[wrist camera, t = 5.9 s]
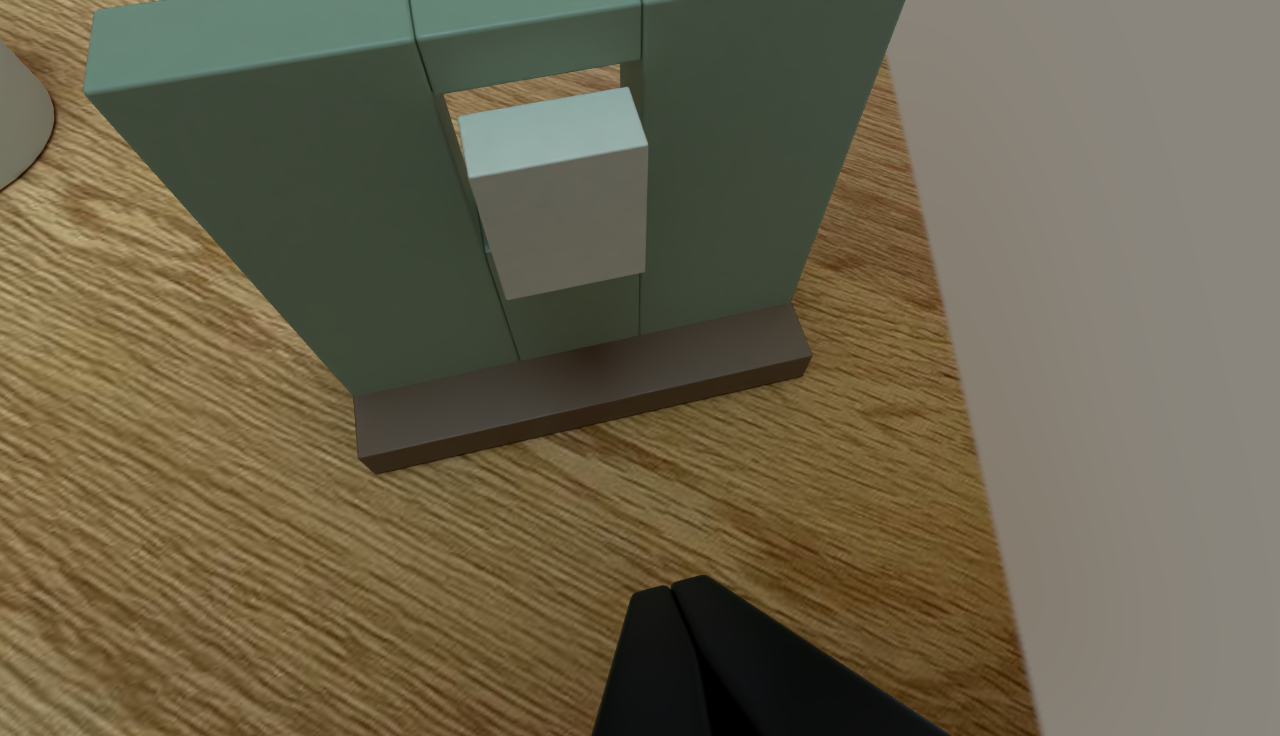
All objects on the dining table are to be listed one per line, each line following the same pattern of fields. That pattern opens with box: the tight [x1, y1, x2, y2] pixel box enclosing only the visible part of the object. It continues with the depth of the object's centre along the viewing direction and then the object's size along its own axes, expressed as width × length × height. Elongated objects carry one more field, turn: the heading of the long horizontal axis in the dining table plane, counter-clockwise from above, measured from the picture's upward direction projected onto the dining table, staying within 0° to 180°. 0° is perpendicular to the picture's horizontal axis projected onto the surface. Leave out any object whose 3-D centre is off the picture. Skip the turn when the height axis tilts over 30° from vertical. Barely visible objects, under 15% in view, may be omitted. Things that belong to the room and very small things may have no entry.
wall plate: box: [83, 0, 905, 474], centre depth 18 cm, size 8×14×13 cm, turn 104°
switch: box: [457, 87, 648, 300], centre depth 14 cm, size 2×3×4 cm, turn 104°
